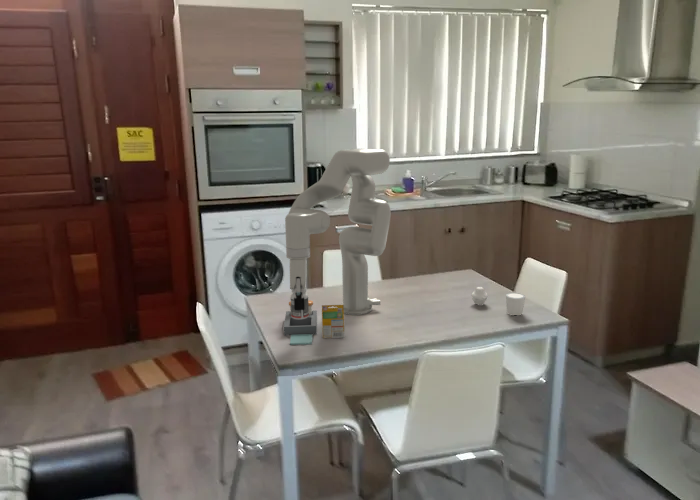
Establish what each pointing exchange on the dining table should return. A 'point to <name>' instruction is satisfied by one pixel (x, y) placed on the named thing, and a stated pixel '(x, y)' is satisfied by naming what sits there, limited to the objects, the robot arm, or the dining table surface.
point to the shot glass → (515, 303)
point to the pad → (301, 339)
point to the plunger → (310, 306)
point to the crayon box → (333, 321)
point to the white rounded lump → (479, 296)
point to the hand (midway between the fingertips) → (299, 305)
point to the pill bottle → (300, 313)
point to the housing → (300, 324)
